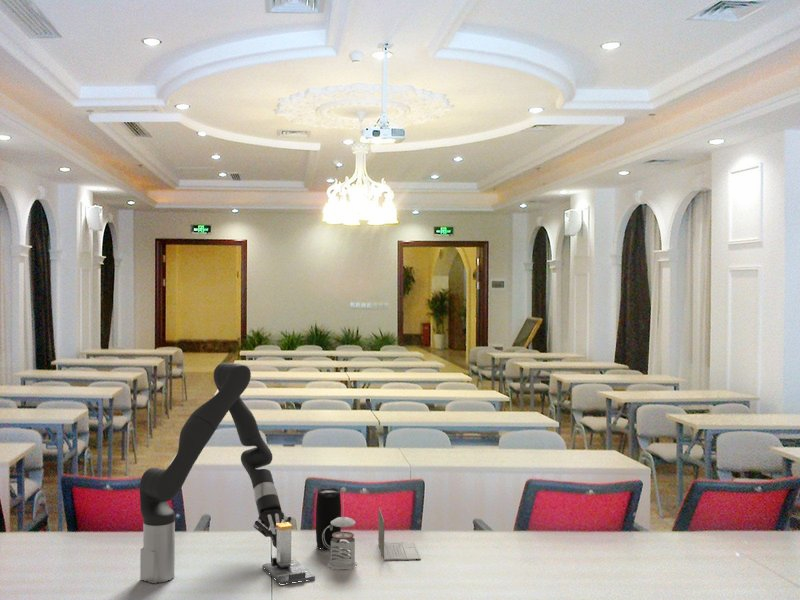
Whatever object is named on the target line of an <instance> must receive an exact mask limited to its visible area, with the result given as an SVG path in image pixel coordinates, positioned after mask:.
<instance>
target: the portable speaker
mask: <svg viewBox="0 0 800 600" xmlns="http://www.w3.org/2000/svg"><path fill="white" fill-rule="evenodd" d="M316 493H317V494H316V504H315V538H316V539H315V540H316V548H317V547H318V548H317V549H319V548H321V549H320V550H323V549H324V548H327V547H328V548H329V549H331V541H332V538H333V537H332V534H333V533H335V532H341V531H342V527H336V526H333V525H332V524H331V521H332V520H334V519H336V518H338V517H342V501H341V500H342V499H341V488H338V487H331V488H323V487H321V488H318V489H317V492H316ZM330 525H332V526H333V529H332V526H330ZM328 526H330V527H331V529H332V530H330V527H329V528H327V527H328ZM326 528H327V529H326ZM325 529H326V531H325V533H323V531H324V530H325ZM322 534H323V541H322ZM324 538H325V541H326V543H327V544H328V545H329V546H330V547H329V546H327V545H326V543H325V541H324ZM323 542H324V544H325V545H326V546H325V545H324V544H323ZM338 542H341V540H338V541H337V543H338ZM337 547H338V546H337Z"/></svg>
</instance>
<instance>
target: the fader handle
mask: <svg viewBox="0 0 800 600" xmlns="http://www.w3.org/2000/svg"><path fill="white" fill-rule="evenodd" d="M276 528H277V548H276V562H277V564H278V565H279V566H280V567H281V568H284V567H290V566H291V560H292V530H293V525H292V524H291V522H290V523H289V522H285V523H283V522H281V523H277V524H276Z"/></svg>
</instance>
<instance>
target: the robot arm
mask: <svg viewBox="0 0 800 600" xmlns="http://www.w3.org/2000/svg"><path fill="white" fill-rule="evenodd" d="M251 377H252V372H251V369H250V367H248V365H245V364H243V363H236V362H220V363H219V364H217V366H216V367H215V369H214V371H213V382H214V384H215V386H216V388H217V390H218V392H217V393H216V394H215V395H214V396H212V397H211V398H210V399H208V400H207V401H206V402H205V403H203V404H201V405H200V406H199V407H197V408H196V409H195V410H193V412H192V413H191V414H190V415H189V417H188V419H186V421H185V423H184V424H183V427H182V428H181V430H180V433H179V439H178V448H177V452H176V455H175V457H174V458H173V460H172V462H171V463H170V464H169V466H168V467H166V469H164V468H162V467H161V468H159V467H150V468H148V469H146V470H145V471H144V473H143V474H142V476H141V478H140V482H139V501H140V502H139V504H140V505H139V506H140V513H141V515H142V518H143V520H142V523H143V525H142V526H143V527H142V528H143V529H142V530H143V531H142V532H143V534H142V536H143V538H142V539H143V540H142V541H143V542H142V543H143V544H142V545H143V547H142V548H141V547H140V552H139V553H140V556H139V557H140V558H139V559H140V560H139V561H140V564H139V565H140V571H139V572H140V574H139V577H140V578H139V579H141V580H140V581H143V580H144V582H146V581H148V582H147V583H150V582H151V583H150V584H153V583H155V584H157V582H159V583H164V582H165V583H166V582H168V580H169V581H171V580H173V579H174V577H175V567H176V566H175V564H176V563H175V561H176V558H175V556H176V555H175V553H176V552H175V551H176V550H175V547H176V546H175V545H176V543H175V542H176V540H175V539H176V537H175V536H176V534H175V533H176V531H175V530H176V513H175V511H174V510H173V508H171V506H170V505H169V504H168V502H170V501H172V500H174V499H175V498H176V497H177V496H178V494H179V492H180V491H181V488H182V487H183V486H184V483H185V481H186V480H187V478H188V476H189V474H190V472H191V470H192V468H193V467H194V464H195V463H196V462H197V460H198V458H199V457H200V455H201V453H202V452H203V450H204V448H205V447H206V446H207V444H208V443H209V442H210V440H211V438H212V436H214V434H215V432H216V430H217V429H218V426H219V425H220V424H221V422H222V421H223V420H224V418H225V417H226V415H227V413H228V412H229V413H230V415H231V419H232V421H233V423H234V425H235V429H236V432H237V435H238V438H239V441H240V443H241V445H242V446H243V447H244V446H245V447H252V448H249V449H246V450H244V451H243V452H241V455H240V462H241V465H242V467H243V468H244V470H245V471H246V472H247V475H248V476H249V478H250V482H251V484H252V489H253V495H254V503H255V505H256V509H257V514H258V518H257V519H258V520H255V521H254V523H253V528H254V529H255V530H257V531H258V532H259V533H260V534H262V535H263V536H264V537H265V538H268V537H269V538H270V539H271V542H272V546H273V547H275V549H277V528H276V524H277V523H285V522H289V523H290V524H291V521H292V517H291V516H286V515H285V513H284V512H283V511H282V507H281V503H280V499H279V495H278V491H277V488H276V486H275V481H274V478H273V475H272V472H271V470H269V469H267V468H262V467H265V466H268V465H270V464H271V463H272V461H273V453H272V451H271V449H270V447H269V446H268V445H267V444H266V442H265V440H264V439H263V437H262V434H261V433H260V429H259V426H258V424H257V420H256V418H255V416H254V414H253V413H252V411H251V410H250V409H249V408H248V406H247V405H246V404H245V402H244V400H243V399H242V397H241V395H242V394H243V393H244V392H245V390H246V389H247V387H248V386H249V384H250V381H251V379H252V378H251ZM172 578H173V579H172Z"/></svg>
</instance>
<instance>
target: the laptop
mask: <svg viewBox="0 0 800 600" xmlns="http://www.w3.org/2000/svg"><path fill="white" fill-rule="evenodd" d="M382 513H383V512H382V510H381V507H378V535H377V536H378V538H377V539H378V547H379V550H381V551H380V553H381V554H380V555H381V557H382V561H383V562H391V561H393V562H394V561H396V562H397V561H398V560H400V561H412V560H414V561H415V560H416V559H417V560H421V556H420V554H419V551H418V549H417V546H416V543H415V542H414V541H413V540H412V541H385V520H384V516H383V514H382ZM417 560H416V561H417Z"/></svg>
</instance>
